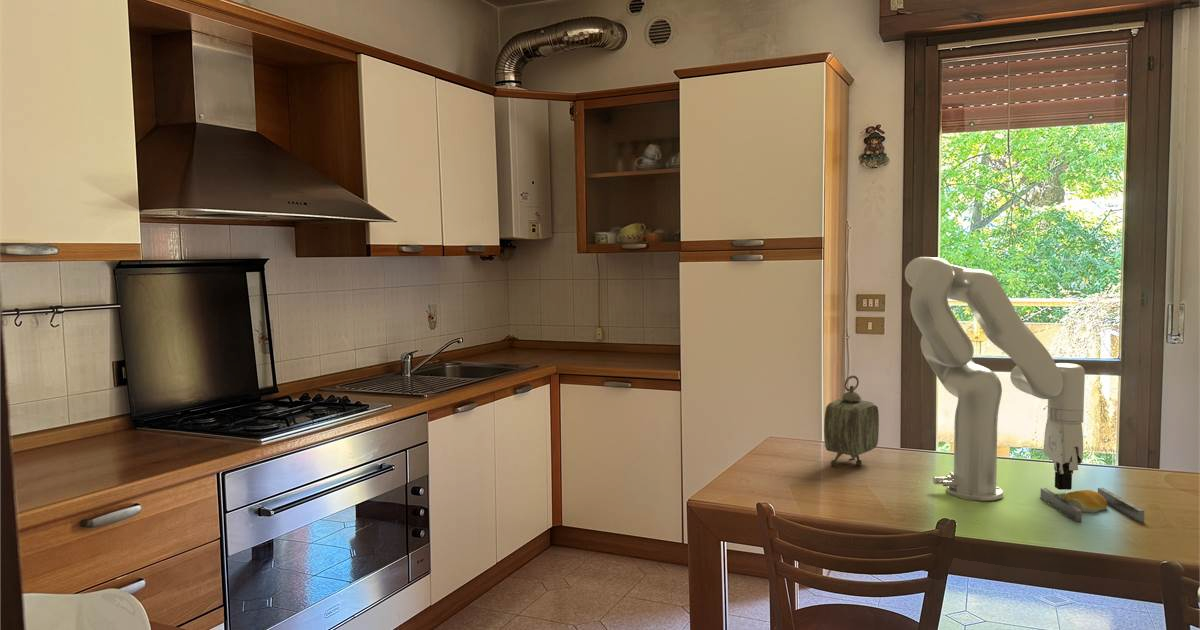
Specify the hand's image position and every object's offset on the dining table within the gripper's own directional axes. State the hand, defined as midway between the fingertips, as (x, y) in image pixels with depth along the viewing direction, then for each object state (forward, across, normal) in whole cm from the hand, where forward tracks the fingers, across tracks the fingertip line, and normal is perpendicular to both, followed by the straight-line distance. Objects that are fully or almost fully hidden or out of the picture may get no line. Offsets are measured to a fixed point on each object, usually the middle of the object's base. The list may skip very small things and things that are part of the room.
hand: (1063, 488), depth 195 cm
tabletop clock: (+1, -26, -44) cm, 51 cm away
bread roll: (+2, +10, 0) cm, 10 cm away
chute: (+1, +12, 0) cm, 12 cm away
